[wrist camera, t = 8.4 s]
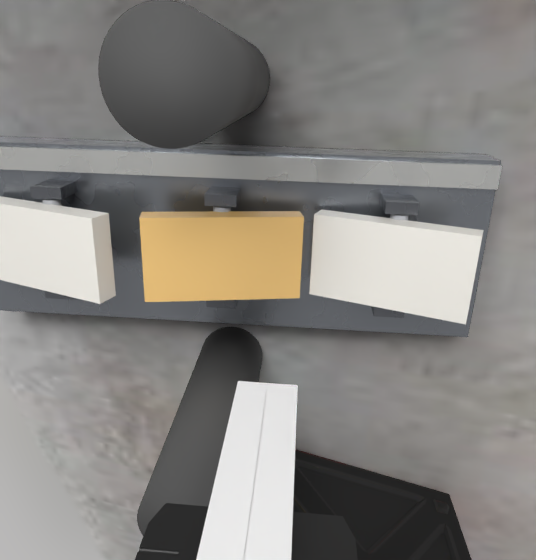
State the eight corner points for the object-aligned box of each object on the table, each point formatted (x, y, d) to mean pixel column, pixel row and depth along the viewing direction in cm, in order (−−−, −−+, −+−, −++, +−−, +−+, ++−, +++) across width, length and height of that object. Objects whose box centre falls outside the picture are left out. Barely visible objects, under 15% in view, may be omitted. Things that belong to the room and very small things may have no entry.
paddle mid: (143, 204, 26) (138, 213, 24) (297, 203, 27) (304, 213, 26) (148, 291, 28) (145, 305, 26) (293, 287, 29) (299, 301, 27)
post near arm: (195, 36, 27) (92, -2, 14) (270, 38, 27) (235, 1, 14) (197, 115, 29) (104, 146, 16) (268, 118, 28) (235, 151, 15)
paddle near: (326, 202, 28) (314, 210, 26) (485, 222, 25) (482, 232, 23) (320, 285, 29) (309, 297, 28) (468, 312, 26) (465, 328, 25)
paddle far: (3, 189, 29) (-28, 195, 27) (118, 206, 26) (91, 214, 24) (16, 269, 31) (-13, 280, 29) (125, 294, 28) (100, 307, 26)
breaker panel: (-6, 136, 30) (-58, 145, 26) (485, 154, 28) (515, 167, 24) (19, 294, 34) (-22, 324, 29) (456, 318, 32) (478, 354, 28)
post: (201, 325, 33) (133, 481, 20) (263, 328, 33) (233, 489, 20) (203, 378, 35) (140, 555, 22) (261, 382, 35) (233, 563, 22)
